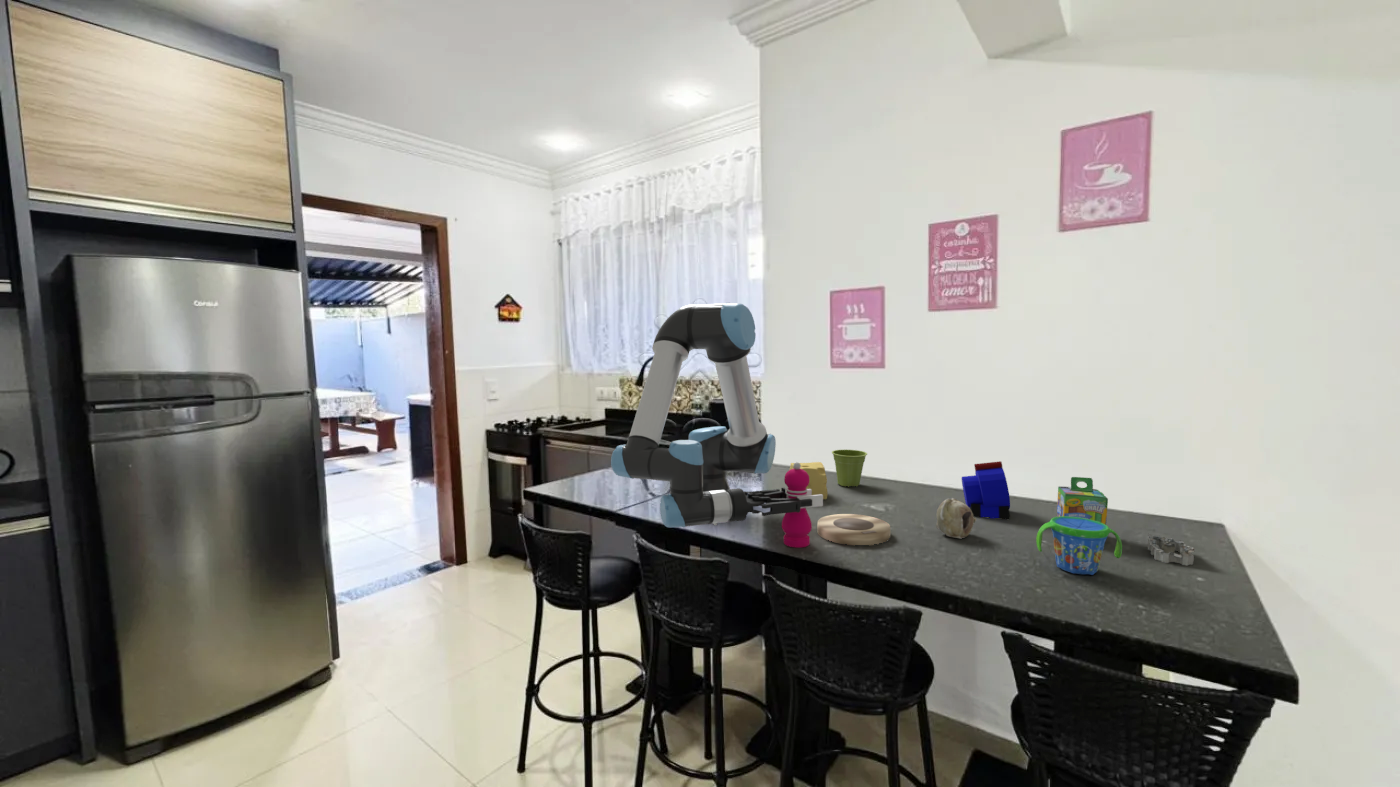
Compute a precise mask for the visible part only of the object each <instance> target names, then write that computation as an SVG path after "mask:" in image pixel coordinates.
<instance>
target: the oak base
mask: <svg viewBox="0 0 1400 787" xmlns="http://www.w3.org/2000/svg"><path fill="white" fill-rule="evenodd" d="M816 524H817V529H816V532H817V534H818V536H819V537H820V538H822V539H824V540H826V541H828V540H829V541H828V542H831V541H832V543H835V544H840V545H845V544H847V545H846V546H855V545H869V546H875V545H874V544H877V545H880V544H879V543H882V544H884V543H883V542H885V543H887V542H888V541H889V540H890V539H891V525H890V524H889V522H886V521H885V520H883V519H880V518H877V517H873V516H871V515H870V516H869V515H865V514H864V515H863V514H857V513H854V514H853V513H839V514H837V513H836V514H831V515H824V516H822V517H820V518H819V519H818V520H817V523H816ZM889 538H890V539H889ZM887 540H888V541H887ZM886 541H887V542H886Z"/></svg>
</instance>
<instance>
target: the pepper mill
mask: <svg viewBox="0 0 1400 787" xmlns="http://www.w3.org/2000/svg"><path fill="white" fill-rule="evenodd" d="M793 463H794V465H793V467H794V469H791V470H788V471H787V472H785V475H784V478H783V480H784V484H785V485H786V487H787V488H785V491H787V493H786V494H787V495H788V498H797V497H798V496H806V495H807V489H806V487H807V486H808V484H809V481H810V480H809V475H808V473H807V472H806V471H804V470H802V469H800V467H801V465H800V463H801V462H797V461H796V462H793ZM812 526H813V525H812V521H811V518H810V515H809V513H808V511H807V508H800V512H799V513H797V512H791V513H784V516H783V518H782V521H781V528H782V531H783V532H784V535H783V544H784V545H785V546H787V547H790V548H796V549H797V548H798V549H799V548H806V547H808V546H810V544H811V543H810V535H809V534H810V532H811V531H812V529H813V527H812Z"/></svg>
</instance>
